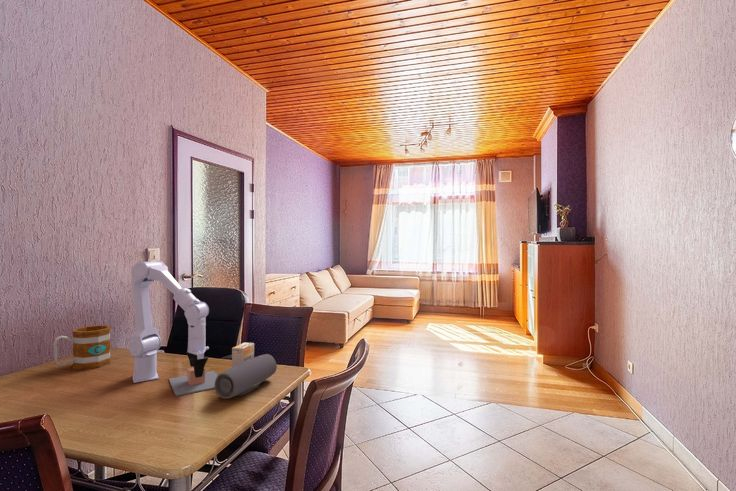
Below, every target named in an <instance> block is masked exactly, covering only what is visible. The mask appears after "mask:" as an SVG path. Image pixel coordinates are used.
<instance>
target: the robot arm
mask: <svg viewBox="0 0 736 491" xmlns="http://www.w3.org/2000/svg"><path fill="white" fill-rule="evenodd" d="M130 271H131V283H130V285H131V295H132V304H133V312H134V313H133V314H134V315H133V316H134V322H135V324H134V325H135V330H134V332H133V333H132V334H131V335H130V336H129V337H130V342H129V344H128V345H129V346H128V350H129V353H130V354H131V355H132V357H133V358H134V362H133V364H134V365H133V366H134V367H133V369H134V370H133V374H132V382H133V383H134V384H135V383H140V382H147V381H152V380H158V379H159V378H160V377H159V374H158V372H157V369H158V368H157V367H158V366H157V364H158V363H157V358H158V357H157V356H158V352H159V349H160V348H161V347H162V343H163V342H162V339H161V337H160V333H159V330H158V329H157V328H155V327H154V326H153V315H152V308H151V307H152V306H151V297H150V287H149V286H150V285H151V284H152V283H153V282H154V281H159V283H161V284H162V285H163V286H164V287H165V288H166V289H167V290H169V292H170V293H171V294H173V298H172V299H173V300H174V301H175V302H176V304H178V306H180V308H181V309H182V310H183V311H184V316H185V318H186V321H187V324H188V326H187V327H188V328H187V330H188V331H187V333H188V334H187V335H188V337H187V340H188V341H187V351H186V352H185V354H186V355H187V358H188V360H189V367H194V373H195V377H196V378H198V377H202V375H203V371H204V368H205V367H206V364H207V361H208V360H209V356H205V352H206V351H208V350H209V349H210V347H209V346H206V341H207V340H206V338H207V337H206V330H207V329H206V326H207V322H206V320H207V318H206V317H207V316H209V313H210V308H209V305H208V304H207V303H206V302H205V301H201V300H199V298H197V297H196V296H195V295H194V294H193V293H192V290H191V289H189V288H185V287H184V288H183V287H181V285H180V284H179V283H178V282H177V280H176V279H175V278H174V277H173V276H172V274H171V272H170V271H169V267H168V266H167V265H166V264H165V263H164V262H163V261H162V260H151V261H150V260H149V261H137V262H136V263H134V265H133V266H132V267H131V270H130Z"/></svg>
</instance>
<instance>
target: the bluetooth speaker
mask: <svg viewBox="0 0 736 491" xmlns="http://www.w3.org/2000/svg"><path fill="white" fill-rule="evenodd" d="M277 367H278V366H277V362H276V359H275V358H274V356H272V355H271V354H269V353H266V354H264V353H263V354H261V355H258V356H254V358H252V359H250V360H247V361H245V362H242V363H240V364H238V365H236V366H234V367H232V366H231V367H230V368H228V369H226V370H224V371H222V372H221V373H219V374H217V375H218V376H217V378H216V380H215V389H214V390H215V392H216V394H217V395H218V396H219V397H220V398H222V399H226V400H227V399H231V398H234V397H236V396H239V397H241V396H243V395H246V394H247V393H250V392H251V391H254V390H256V389H257V388H258V387H259V386H260V384H261V383H263V382H265V381H266V380H268V379H269V378H270V377H272V376H273V375H274V374H275V373H276V371H277Z"/></svg>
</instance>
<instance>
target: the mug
mask: <svg viewBox="0 0 736 491" xmlns="http://www.w3.org/2000/svg"><path fill="white" fill-rule="evenodd" d="M72 336H73V337H72V338H70V337H69V336H66V335H59V336H58V337H55V339H54V341H53V343H52V347H53V356H54V357H53V358H54V362H55V363H56V365H57V366H66V365H68V364H71V363H72V368H71V369H72V370H80V371H83V370H92V369H99V368H102V367H104V366H108V365H110V364H111V362H112V359H111V344H112V343H111V325H108V324H107V325H106V324H104V325H103V324H99V325H98V324H96V325H87V326H82V327H78V328H74V329H73V330H72ZM61 339H63V340H64V339H65V340H66V341H67V342H70V343H72V357H73V358H72V359H71V358H70V359H67V360H65V361H64V362H60V360H59V348H58V341H60V340H61Z"/></svg>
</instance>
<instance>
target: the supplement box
mask: <svg viewBox="0 0 736 491" xmlns="http://www.w3.org/2000/svg"><path fill="white" fill-rule="evenodd" d="M252 358H255V343H254V342H242V343H240V344H238V345H236V346H233V347H232V348H231V368H232V367H234V366H236V365H238V364H240V363H242V362H245V361H247V360H250V359H252Z"/></svg>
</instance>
